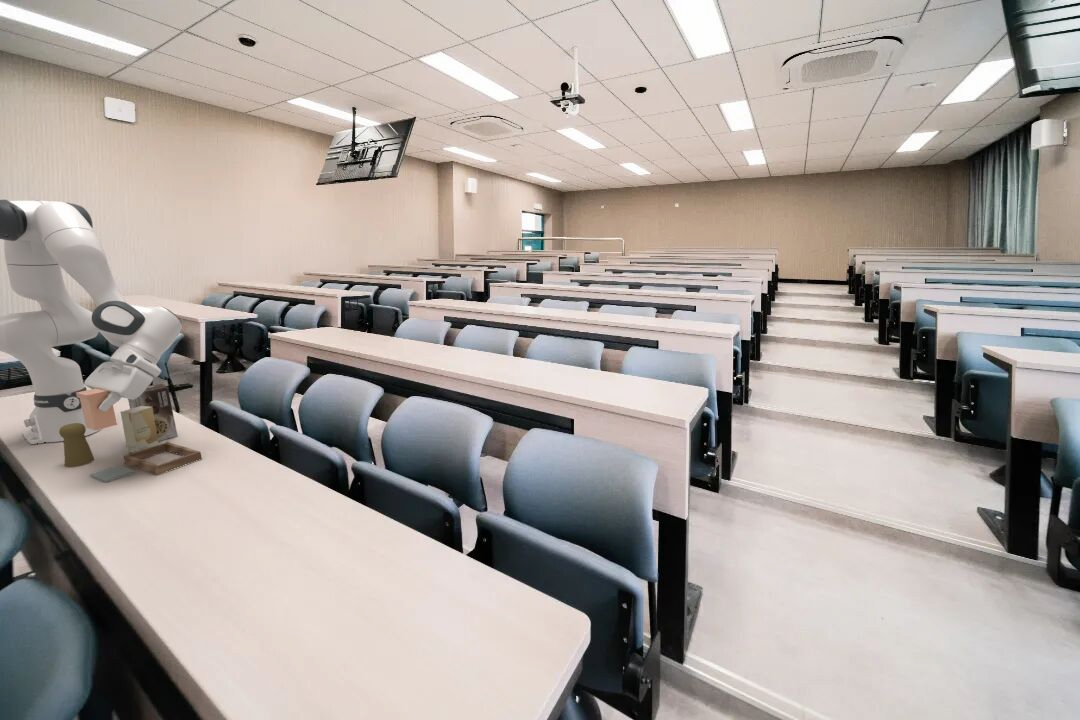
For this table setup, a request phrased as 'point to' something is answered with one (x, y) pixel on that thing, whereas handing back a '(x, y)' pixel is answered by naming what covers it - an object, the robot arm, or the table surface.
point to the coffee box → (158, 409)
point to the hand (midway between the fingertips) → (94, 408)
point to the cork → (75, 445)
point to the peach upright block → (92, 415)
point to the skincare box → (139, 428)
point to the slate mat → (111, 473)
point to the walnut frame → (188, 457)
